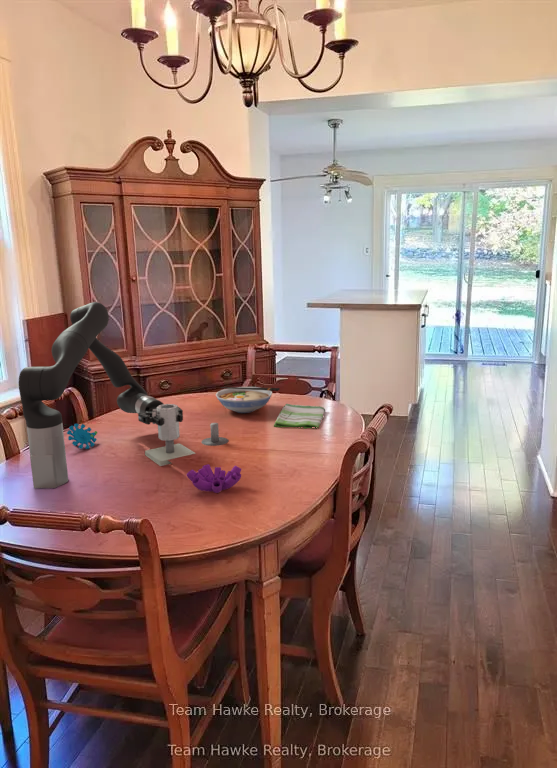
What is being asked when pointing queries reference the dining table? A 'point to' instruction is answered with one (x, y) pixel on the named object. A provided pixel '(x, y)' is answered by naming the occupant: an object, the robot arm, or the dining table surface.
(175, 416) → the sleeve
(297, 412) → the dish towel
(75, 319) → the robot arm
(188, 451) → the plate with upright peg
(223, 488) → the pipe connector assembly
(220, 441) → the stand
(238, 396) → the ramen bowl
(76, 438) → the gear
